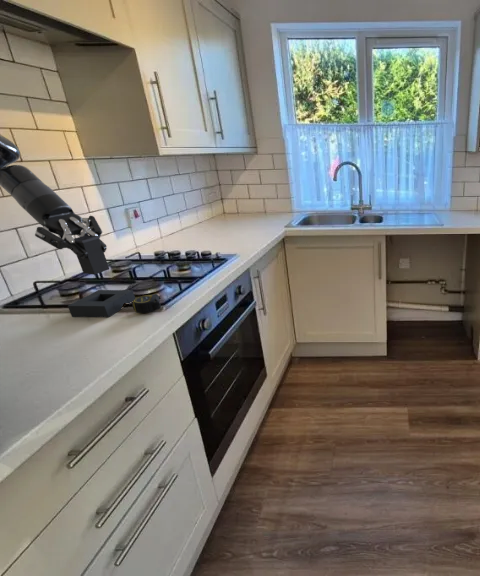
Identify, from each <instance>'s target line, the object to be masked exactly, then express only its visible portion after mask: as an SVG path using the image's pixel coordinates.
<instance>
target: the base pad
mask: <svg viewBox="0 0 480 576" xmlns="http://www.w3.org/2000/svg"><path fill="white" fill-rule="evenodd" d="M134 299H136V296H135V293H134V290H133V289H98V290H96V291H93V292H92V293H90V294H88V295H86V296H84V297H82V298H80V299H78V300H76V301H74V302H71V303H70V304H68V305H67V309H68V311H69V314H70V315H71V317H72V318H110V317H112V316H113V315H115V314H116V313H118V312H120V311H122V309H121V308H122V306H123V304H124V303H130V302H132V301H133V300H134Z"/></svg>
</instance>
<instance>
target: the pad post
mask: <svg viewBox="0 0 480 576" xmlns="http://www.w3.org/2000/svg"><path fill="white" fill-rule="evenodd" d="M73 239H74V240H75V243H78V244H79V245H80V246H82V247H83V248H84V249H85V250H86V251H87V252H88V256H87V258H85V259H82V258H81V257H78V256H77V255H76V257H77V260H78V263H79V265H80V269H81V270H82V273H83V274H86V275H95V276H96V275H97V274H101V273H103V272H106V271H108V270H110V266H109V263H108V261H107V257H106V255H105V252H103V249H102V246H101V244H100V241H99V239H100V238H99V236H90V235H86V236H82V237H79V236H77V237H73Z"/></svg>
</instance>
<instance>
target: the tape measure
mask: <svg viewBox="0 0 480 576" xmlns="http://www.w3.org/2000/svg"><path fill="white" fill-rule="evenodd" d="M131 305H132V309H133V311H134V312H135V313H137V314H148V313H151V312H154V311H158V310H160V309H161V295H159V294H157V293H153V294H147V295H142V296H141V295H140V296H138V297H135V299H134V300H133V303H131Z"/></svg>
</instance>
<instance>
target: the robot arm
mask: <svg viewBox="0 0 480 576" xmlns="http://www.w3.org/2000/svg"><path fill="white" fill-rule="evenodd" d="M20 158H21V151H20V149H19V148H18V146H17V145H16V144H15V143H14V142H13V141H11V140H10V139H9V138H7V137H5V136H4V135H2V134H0V187H2V189H4V191H6V192H7V193H8V194H9V195H10V196H11V197H12V198H13V199H14V200H15V201H16V203H17V204H18V205H19V206H20V207H21V208H22V209H23V210H24V211H26V213H28V214H29V216H30V217H31V218H33V219H34V220H35V221H36V222H37V223H38V224H39V225H40V226H37V227H36V229H35V230H36V231H35V233H34V236H35V238H37V239H39V240H41V241H43V242H44V243H47V244H49V245H51V246H53V247H54V248H56V249H57V250H63V249H68V250H70V251H71V252H72V253H73V254H75V255H76V257H77V256H78V257H81V258H82V259H85V258H87V256H88V252H87V251H86V250H85V249H84V248H83V247H82V246H80V245H79V244H78V243H75V240H74V237H73V236H77V237H82V236H86V235H90V236H99V241H100V244H101V246H102V249H103V252H104V253H106V252H107V249H108V248H107V246H108V245H107V244H106V243H105V242H104V241H103V240H101V236H102V234H103V230H102V228H101V226H100V225H99V222H98V221H97V219H96V218H95V216H93V215H89V216H88V217H82V216H80V215H78V214H76V213H75V212H74V211H73V208H72V207H71V206H70V205H69V204H68V203H67V202H66V201H65V200H64V199H62V198H61V196H60V195H58V194H57V192H55V191H54V190H53V189H52V188H51V187H50V186H48V185H47V184H45V183H44V182H43V181H42V180H41V179H40V178H39V177H38V176H37V175H36V174H35V173H34V172H33V171H31V170H30V169H29V168H28V167H26V166H24V165H22V164H14V163H16V162H17V161H18V160H19V159H20Z"/></svg>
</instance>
